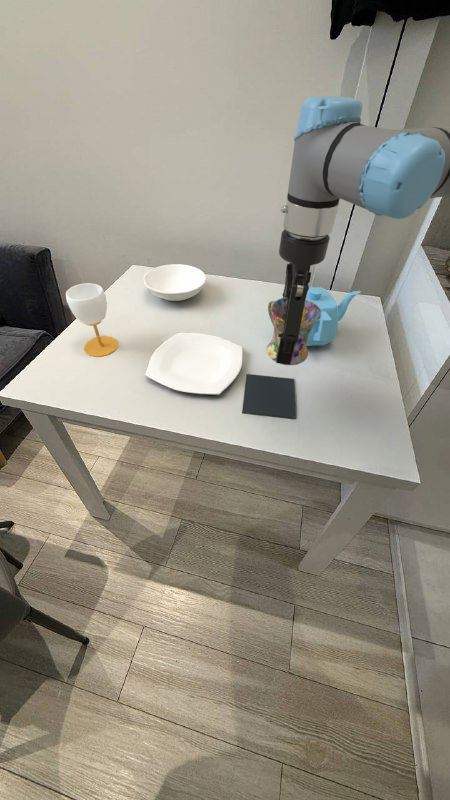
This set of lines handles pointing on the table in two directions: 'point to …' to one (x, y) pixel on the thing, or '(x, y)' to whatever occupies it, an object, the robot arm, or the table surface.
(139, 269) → the table surface
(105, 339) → the cup
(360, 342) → the table surface
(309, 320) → the mug
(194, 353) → the plate
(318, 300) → the teapot
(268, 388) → the left mat
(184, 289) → the bowl
